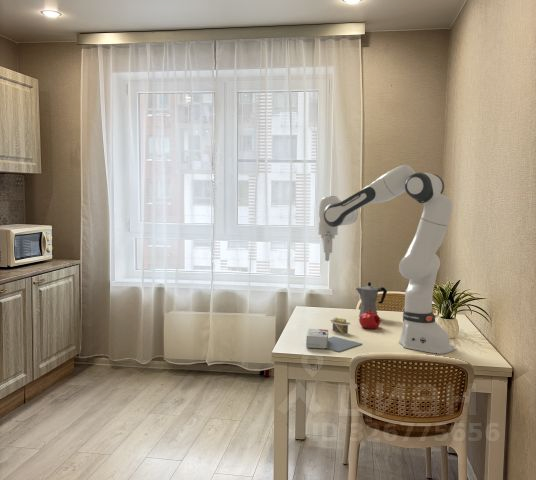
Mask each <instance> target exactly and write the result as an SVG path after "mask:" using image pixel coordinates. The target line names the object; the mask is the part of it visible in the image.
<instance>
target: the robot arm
mask: <svg viewBox="0 0 536 480" xmlns="http://www.w3.org/2000/svg"><path fill="white" fill-rule="evenodd" d="M444 190H445V183H444V180H443V179H442V177H440V176H439V175H438V174H434V173H431V172H416V171H414V169H413V168H412V167H411V166H409V165H408V164H401V165H399V166H397V167H394V168H393V169H390V170H388V171H387V172H385V173H384V174H381V176H379V177H378V178H377V179H375V180H374V181H372V182H371V183H370V184H369V185H366V186H365V187H363V188H362V189H360V190H359V191H357V192H356V193H354V194H352V195H351V196H349V197H347V198H346V199H343V200H341V199H340V198H339V197H338V196H336V195H328V196H324V197H322V198H321V199H320V202H319V206H318V207H319V208H318V217H319V221H318V235H320V238H321V240H322V247H323V252H324V259H325V261H326V262H330V256H331V254H332V253H333V239H335V238H336V236H338V234H339V233H338V231H339V230H338V228H339V227H340V226H341V227H342V226H347V225H352V224H354V223H355V222H356V221H357V219H358V217H359V216H358V210H359V209H360V208H362V207H364V206H367V205H373V204H381V203H383V204H384V203H385V202H388V201H391V200H393V199H395V198H397V197H399V196H400V195H402V194H404V193H405V192H406V193H407V195H408V196H409V197H410V198H411V199H412V200H413V199H414V201H416V202H418V203H419V204H423V209H422V212H421V213H422V214H421V217H420V219H419V222H418V225H417V229H416V232H415V234H414V237H413V239H412V240H411V243H410V244H409V246H408V248H407V250H406V252H405V254H404V256H403V257H402V259H401V260H400V261H399V264H398V271H399V273H400V275H401V276H402V277H403V278H404V279H406V280H409V281H408V285H407V288H406V289H405V295H404V309H403V312H402V313H403V314H402V321H403V325H402V330H401V335H400V339H399V341H398V342H399V345H402V348H404V349H407V350H413V351H414V350H415V351H419V352H425V353H430V354H436V353H437V355H442V354H448V353H450V352H454V350H455V349H456V346H455V344H451V343H450V337H449V334H448V332H447V331H446V330H445V329H444V328H443V327H442V326H441V325H440V324H438V322H437V321H436V318H437V317H438V314H434V313H433V296H434V295H433V294H434V288H435V285H436V280H437V274H438V272H439V269H440V266H441V259H440V257H439V256H438V254H437V251H438V250H439V248H440V247H441V246H442V245H443V240H444V238H445V236H446V233H447V228H448V226H449V222H450V219H451V214H452V208H453V202H452V199H450V198H449V197H448V196H447V195H444V194H443V193H444Z"/></svg>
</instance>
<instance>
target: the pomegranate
mask: <svg viewBox="0 0 536 480" xmlns="http://www.w3.org/2000/svg"><path fill="white" fill-rule="evenodd" d="M365 312H366V311H365ZM365 312H364V314H362V315H361V316H360V317H359V318H358V321H359V325H360V326H361V327H362V328H363V329H367V330H376V329H378V328H379V327H380V325H381V320H382V319H381V317H380V316H379V314H378V311H377V312H376V313H377V314H375V312H371V308H369V313H368V312H367V313H365Z"/></svg>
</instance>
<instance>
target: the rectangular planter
mask: <svg viewBox="0 0 536 480" xmlns="http://www.w3.org/2000/svg"><path fill="white" fill-rule="evenodd" d="M330 323H331V324H332V331H334V332H335V331H336V332H340V333H342V334H344V333H345V334H348V333H349V331H348V330H349V326H350V325H352V323H351V322H347V319H345V318H339V317H333V319H330Z"/></svg>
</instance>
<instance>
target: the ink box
mask: <svg viewBox="0 0 536 480" xmlns="http://www.w3.org/2000/svg"><path fill="white" fill-rule="evenodd" d="M328 338H329V329H325V328H324V329H321V328H317V329H316V328H308V329H307V334H306V339H305V340H306V345H305V347H306V348H313V349H325V348H327V344H328Z"/></svg>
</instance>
